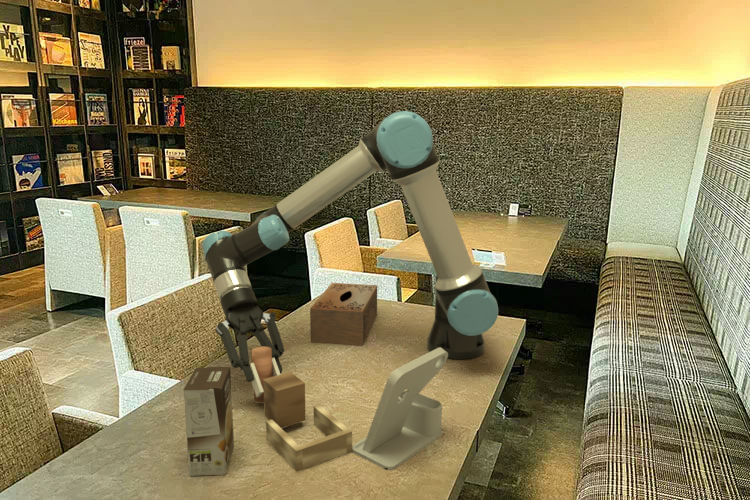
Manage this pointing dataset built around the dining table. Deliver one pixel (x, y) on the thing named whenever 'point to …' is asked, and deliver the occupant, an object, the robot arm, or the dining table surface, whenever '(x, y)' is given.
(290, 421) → the block
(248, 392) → the dining table surface
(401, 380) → the phone holder
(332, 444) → the wooden u-shaped frame
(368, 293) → the tissue box cover
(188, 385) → the coffee box
